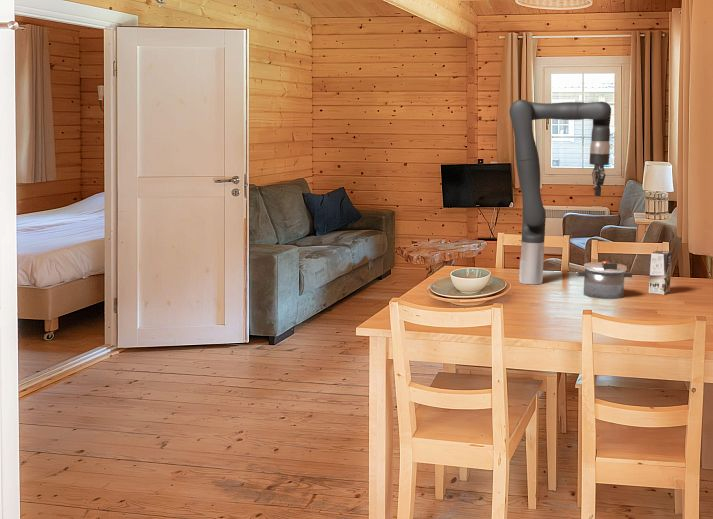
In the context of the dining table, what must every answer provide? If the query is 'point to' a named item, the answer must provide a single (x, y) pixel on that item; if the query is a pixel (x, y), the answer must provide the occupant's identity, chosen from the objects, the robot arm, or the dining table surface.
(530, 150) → the robot arm
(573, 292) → the dining table surface
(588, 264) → the lid
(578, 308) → the dining table surface
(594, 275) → the cooker body
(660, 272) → the coffee box
